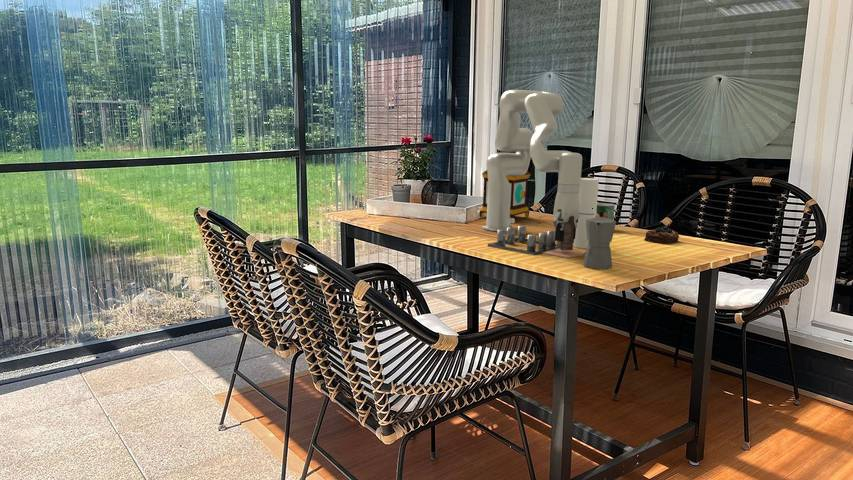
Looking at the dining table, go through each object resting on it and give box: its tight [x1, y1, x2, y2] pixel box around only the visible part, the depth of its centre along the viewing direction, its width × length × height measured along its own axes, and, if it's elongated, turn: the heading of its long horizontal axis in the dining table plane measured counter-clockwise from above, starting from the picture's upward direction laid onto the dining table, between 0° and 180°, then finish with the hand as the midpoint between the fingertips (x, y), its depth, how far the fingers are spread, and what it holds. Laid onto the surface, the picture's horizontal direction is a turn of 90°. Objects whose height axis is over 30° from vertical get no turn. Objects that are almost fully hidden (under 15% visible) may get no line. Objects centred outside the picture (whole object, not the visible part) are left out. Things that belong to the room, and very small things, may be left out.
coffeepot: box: [582, 211, 617, 271], centre depth 210 cm, size 15×9×18 cm, turn 159°
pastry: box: [643, 226, 680, 245], centre depth 258 cm, size 11×12×6 cm
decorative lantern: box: [478, 169, 531, 219], centre depth 302 cm, size 20×20×30 cm
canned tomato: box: [596, 202, 615, 220], centre depth 279 cm, size 8×8×11 cm
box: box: [556, 216, 574, 250], centre depth 228 cm, size 6×4×12 cm
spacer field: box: [487, 225, 559, 256], centre depth 239 cm, size 20×20×6 cm
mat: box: [542, 248, 586, 260], centre depth 229 cm, size 12×10×1 cm
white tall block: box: [573, 177, 600, 249], centre depth 240 cm, size 7×7×25 cm
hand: (565, 239), depth 228 cm, fingers closed on box, 7 cm apart
